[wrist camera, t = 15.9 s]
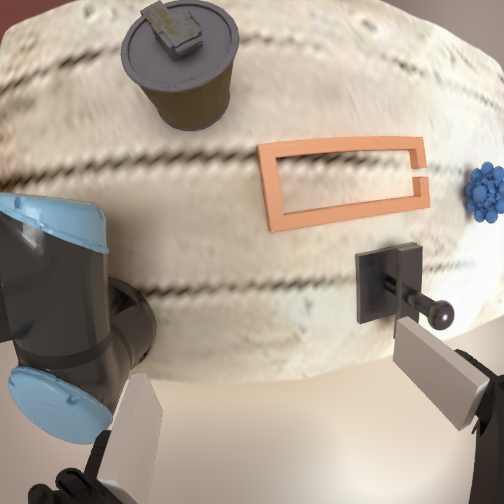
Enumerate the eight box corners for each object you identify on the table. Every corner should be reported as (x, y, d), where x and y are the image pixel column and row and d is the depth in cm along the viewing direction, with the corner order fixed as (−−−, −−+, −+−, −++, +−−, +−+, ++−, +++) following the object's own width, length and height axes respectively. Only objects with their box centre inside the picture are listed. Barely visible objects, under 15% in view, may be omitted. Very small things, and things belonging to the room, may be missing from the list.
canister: (243, 105, 36) (268, 39, 17) (180, 145, 37) (147, 106, 17) (203, 52, 34) (198, -34, 14) (142, 89, 34) (91, 24, 15)
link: (268, 230, 41) (271, 232, 39) (256, 146, 38) (258, 144, 36) (423, 206, 43) (430, 207, 41) (415, 138, 40) (422, 137, 38)
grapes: (451, 160, 42) (497, 160, 30) (471, 162, 43) (514, 163, 31) (453, 221, 45) (498, 231, 33) (472, 218, 45) (515, 228, 34)
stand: (357, 328, 46) (408, 382, 30) (354, 245, 43) (421, 276, 27) (410, 311, 47) (467, 352, 31) (412, 233, 44) (483, 255, 28)
